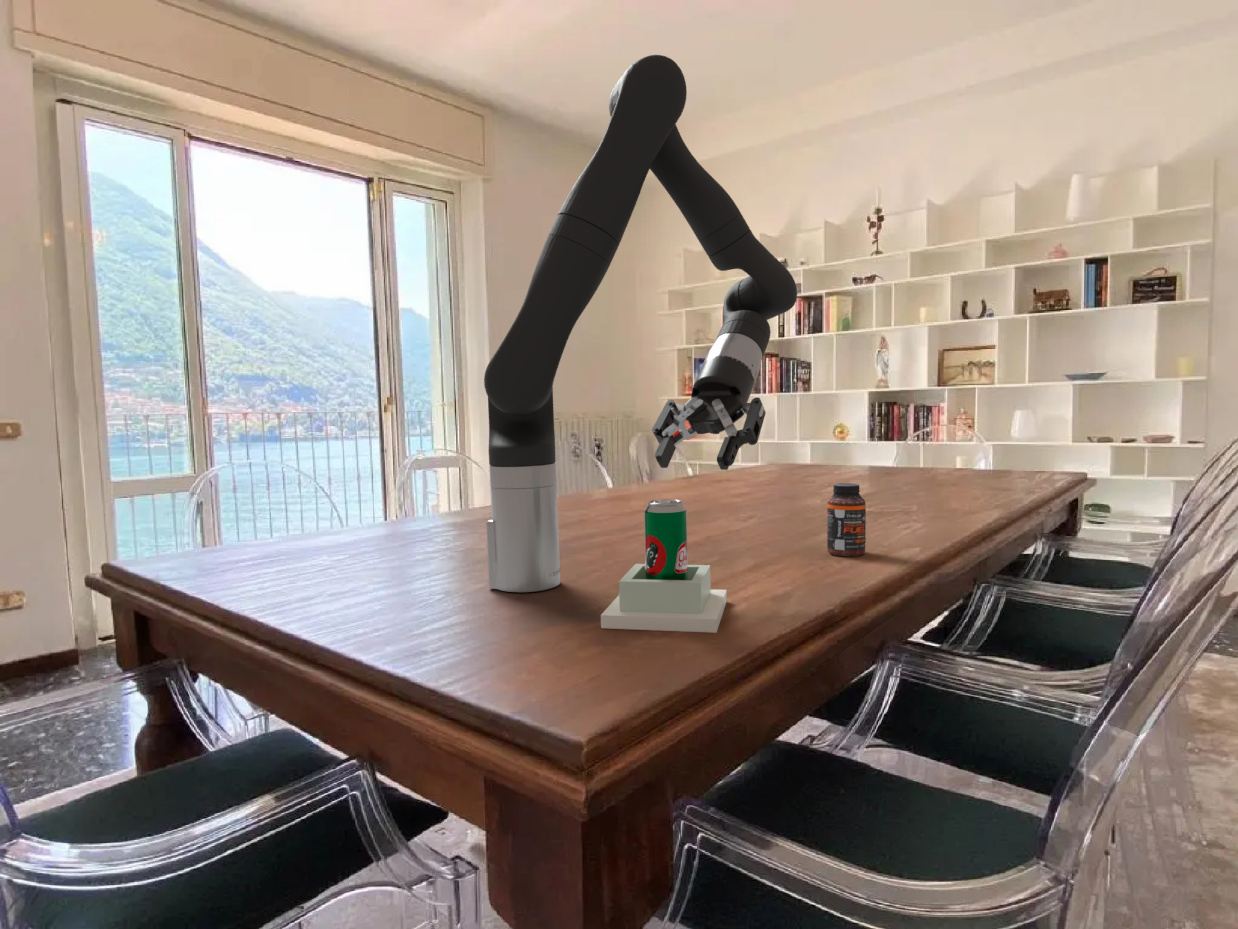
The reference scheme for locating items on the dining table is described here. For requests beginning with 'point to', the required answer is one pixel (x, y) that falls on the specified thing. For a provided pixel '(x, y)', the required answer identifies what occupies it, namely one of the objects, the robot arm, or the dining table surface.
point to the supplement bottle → (846, 521)
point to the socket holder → (666, 603)
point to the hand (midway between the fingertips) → (690, 464)
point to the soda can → (665, 540)
